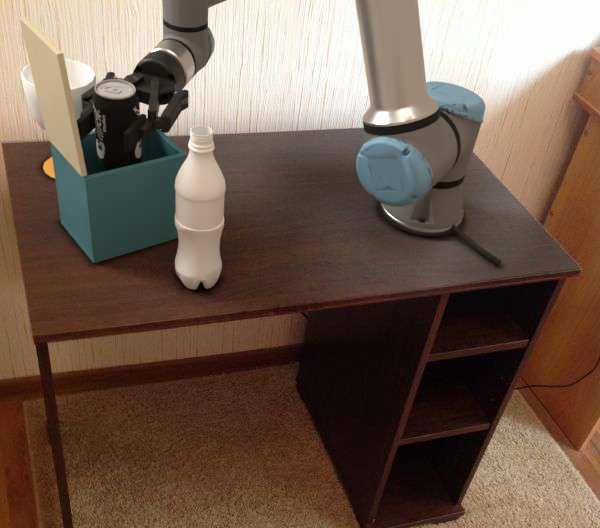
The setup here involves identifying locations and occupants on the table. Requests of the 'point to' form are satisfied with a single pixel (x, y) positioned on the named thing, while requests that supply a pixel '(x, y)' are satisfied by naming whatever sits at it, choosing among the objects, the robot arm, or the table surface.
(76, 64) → the cup
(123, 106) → the beverage can
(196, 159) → the water bottle
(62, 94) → the cooler lid
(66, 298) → the table surface
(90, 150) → the box
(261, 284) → the table surface
